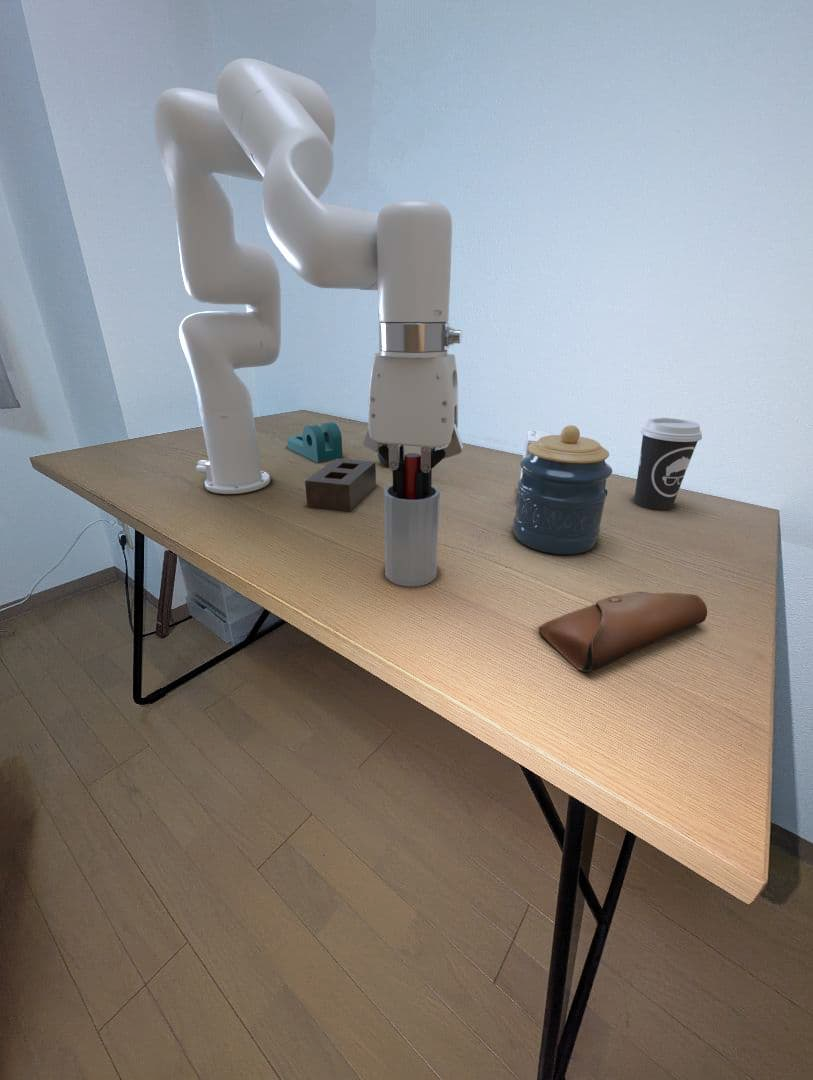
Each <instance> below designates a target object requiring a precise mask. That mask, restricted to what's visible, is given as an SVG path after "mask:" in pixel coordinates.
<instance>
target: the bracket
mask: <svg viewBox="0 0 813 1080" xmlns="http://www.w3.org/2000/svg"><path fill="white" fill-rule="evenodd" d="M301 433H302V434H298V435H297V434H296V435H291V436H288V437H286V442H287V448H288V450H290V451H293V452H295V453H297V454H299V455H301V456H303V457H305V458H308V459H309V460H312V461H314V462H316V463H319V464H320V463H323V462H324V463H325V462H328V461H333V460H335V459H336V458H340V459H344V455H343V438H342V433H341V430H340V427H339V425H338V424H337V423H336V422H334V421H329V422H324V423H321V424H320V426H319V425H318V424H309V425H305V426H304V427H303V429H302V432H301Z"/></svg>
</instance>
